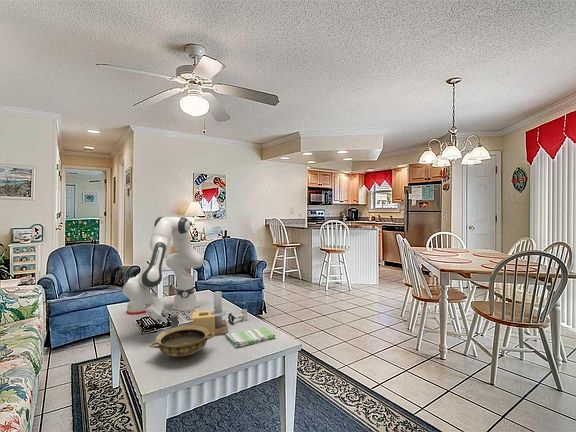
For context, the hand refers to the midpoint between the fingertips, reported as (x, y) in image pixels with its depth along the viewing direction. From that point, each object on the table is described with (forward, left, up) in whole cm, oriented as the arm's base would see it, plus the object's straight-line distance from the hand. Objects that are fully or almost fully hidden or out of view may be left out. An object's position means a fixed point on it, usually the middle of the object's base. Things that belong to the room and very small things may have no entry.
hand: (166, 317), depth 174 cm
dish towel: (+18, +44, -10) cm, 48 cm away
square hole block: (0, +23, -8) cm, 24 cm away
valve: (-8, +41, -10) cm, 43 cm away
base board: (0, +21, -9) cm, 23 cm away
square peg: (0, +4, -9) cm, 10 cm away
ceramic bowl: (+28, +10, -10) cm, 31 cm away
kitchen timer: (-48, -23, -10) cm, 54 cm away
